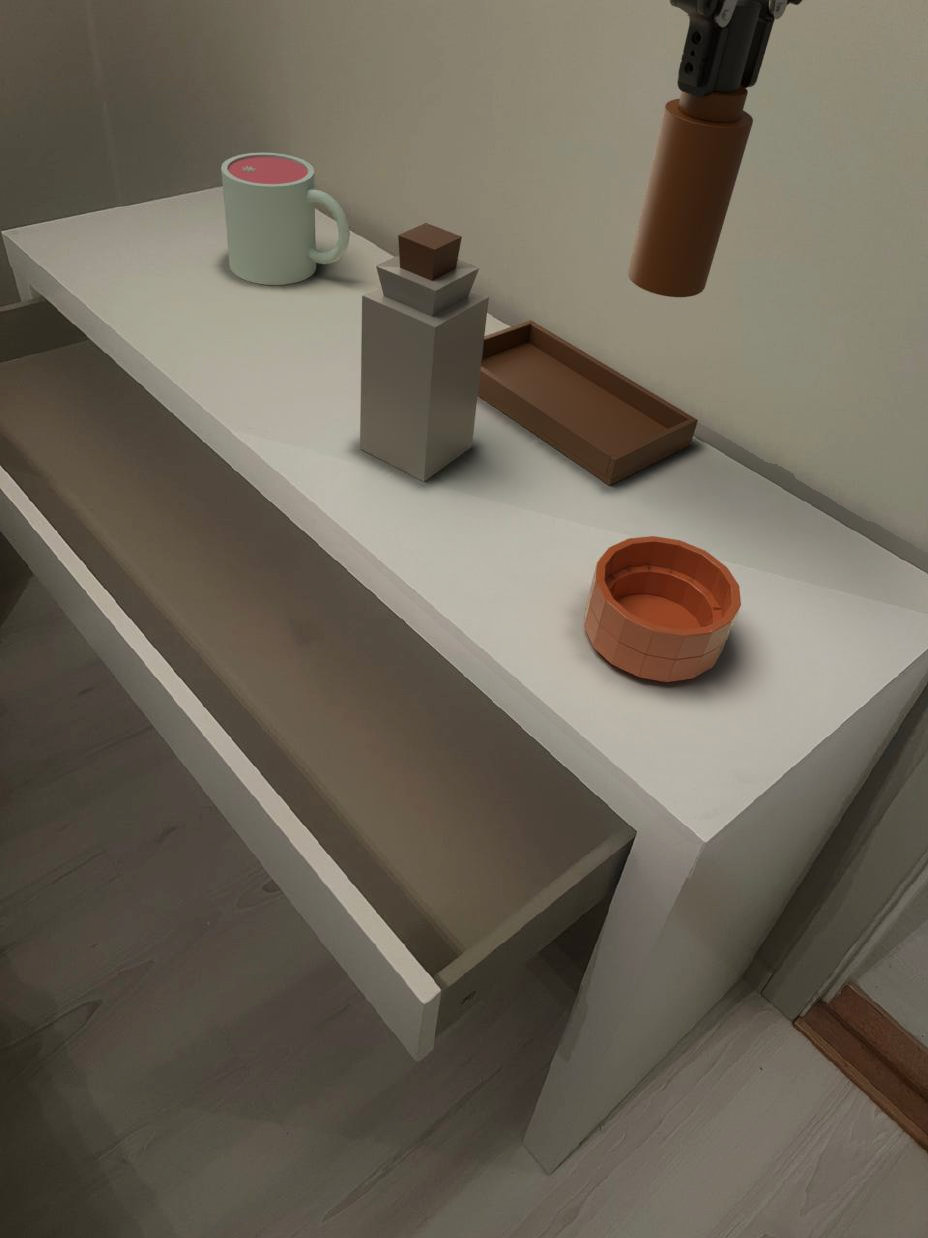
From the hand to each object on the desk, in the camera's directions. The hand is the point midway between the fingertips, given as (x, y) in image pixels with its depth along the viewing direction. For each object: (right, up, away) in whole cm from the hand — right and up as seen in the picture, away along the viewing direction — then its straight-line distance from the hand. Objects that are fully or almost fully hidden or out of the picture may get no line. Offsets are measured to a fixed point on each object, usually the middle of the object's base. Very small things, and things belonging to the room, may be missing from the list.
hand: (716, 86), depth 58 cm
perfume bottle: (-20, -19, +21) cm, 34 cm away
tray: (-6, -14, +28) cm, 31 cm away
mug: (-34, +4, +43) cm, 55 cm away
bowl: (-3, -34, +7) cm, 35 cm away
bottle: (-1, -9, +9) cm, 12 cm away
